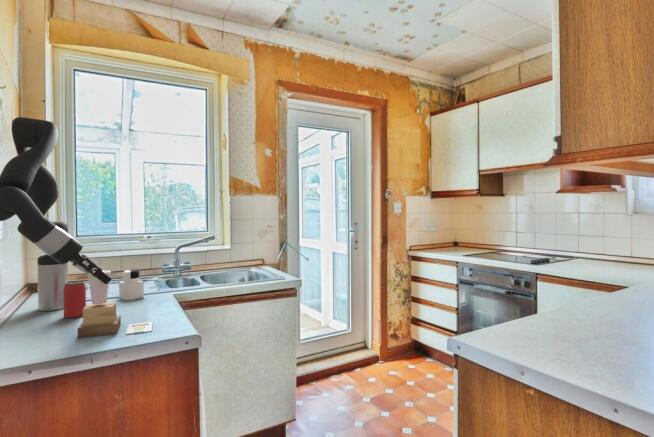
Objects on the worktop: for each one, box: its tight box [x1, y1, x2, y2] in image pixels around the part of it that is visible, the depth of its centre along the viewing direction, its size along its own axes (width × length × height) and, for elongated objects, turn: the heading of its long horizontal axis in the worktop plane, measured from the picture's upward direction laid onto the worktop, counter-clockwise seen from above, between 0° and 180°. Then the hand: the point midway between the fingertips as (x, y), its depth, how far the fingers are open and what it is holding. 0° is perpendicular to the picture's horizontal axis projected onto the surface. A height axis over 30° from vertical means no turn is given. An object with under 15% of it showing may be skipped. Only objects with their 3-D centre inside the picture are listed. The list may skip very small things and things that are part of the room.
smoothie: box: [86, 257, 112, 305], centre depth 113 cm, size 6×6×14 cm
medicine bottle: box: [118, 269, 145, 301], centre depth 157 cm, size 7×7×12 cm
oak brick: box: [82, 301, 117, 326], centre depth 113 cm, size 6×8×5 cm
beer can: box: [63, 280, 87, 319], centre depth 130 cm, size 7×7×12 cm
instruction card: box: [125, 321, 153, 336], centre depth 116 cm, size 10×7×1 cm
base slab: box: [77, 315, 122, 339], centre depth 113 cm, size 10×10×3 cm
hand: (105, 280), depth 114 cm, fingers closed on smoothie, 6 cm apart
